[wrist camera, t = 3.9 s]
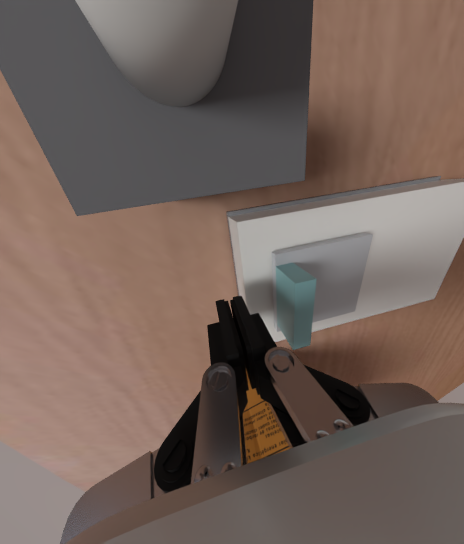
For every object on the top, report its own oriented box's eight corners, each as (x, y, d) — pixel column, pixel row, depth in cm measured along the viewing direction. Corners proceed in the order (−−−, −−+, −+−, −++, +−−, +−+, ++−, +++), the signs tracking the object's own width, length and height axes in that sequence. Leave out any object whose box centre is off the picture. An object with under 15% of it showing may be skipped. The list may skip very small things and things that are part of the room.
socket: (434, 176, 15) (494, 171, 12) (396, 284, 20) (433, 301, 17) (226, 211, 13) (236, 217, 10) (242, 323, 18) (252, 350, 15)
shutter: (365, 232, 12) (414, 243, 9) (349, 307, 15) (383, 331, 12) (271, 251, 11) (295, 269, 8) (274, 326, 14) (292, 358, 11)
